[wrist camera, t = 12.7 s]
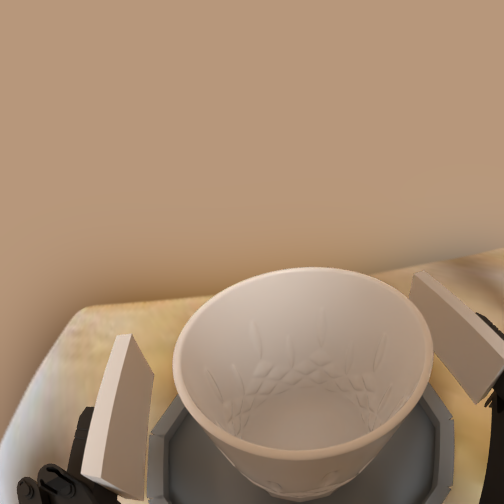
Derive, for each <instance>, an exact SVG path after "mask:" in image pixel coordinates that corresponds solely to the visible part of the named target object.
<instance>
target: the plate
mask: <svg viewBox="0 0 504 504" xmlns="http://www.w3.org/2000/svg"><path fill="white" fill-rule="evenodd" d="M452 417H453V416H452V415H451V413H450V412H449V410H448V409H447V408H446V406H445V405H444V403H443V402H442V400H441V399H440V397H439V396H438V395H437V393H436V392H435V390H434V389H433V388H432V386H431V385H430V383H429V382H428V384H427V386H426V388H425V390H424V392H423V394H422V396H421V398H420V399H419V401H418V403H417V404H416V405H415V407H414V408H413V410H412V411H411V413H410V414H409V415H408V417H407V418H406V420H405V421H404V422H403V424H402V425H401V426H400V428H399V429H398V430H397V431H396V433H395V434H394V435H393V437H392V438H391V439H390V440H389V442H388V443H387V444H386V445H385V446H384V448H383V449H382V450H381V451H380V452H379V454H378V455H377V456H376V457H375V458H374V459H373V460H372V462H371V463H370V464H369V465H368V466H367V467H366V468H365V469H363V470H362V471H361V472H360V473H359V474H358V475H357V476H356V477H355V478H354V479H352V480H351V481H350V482H348V483H346V484H345V485H343V486H342V487H341V488H339V489H338V490H337V491H335V492H334V493H332V494H331V495H329V496H326V497H322V498H318V499H314V500H309V501H304V502H295V501H290V500H285V499H280V498H276V497H272V496H270V495H269V494H268V493H266V492H265V491H264V490H263V489H261V488H260V487H258V486H256V485H255V484H253V483H252V482H251V481H249V480H248V479H247V478H246V477H245V476H244V475H243V474H242V473H241V472H240V471H239V470H238V469H236V468H235V467H234V466H233V465H232V464H231V463H230V462H229V461H228V460H227V458H226V457H225V456H224V455H223V454H222V453H221V451H220V450H219V449H218V448H217V447H216V446H215V444H214V443H213V442H212V441H211V439H210V438H209V437H208V436H207V434H206V433H205V432H204V431H203V430H202V428H201V427H200V426H199V424H198V423H197V422H196V421H195V419H194V418H193V417H192V415H191V414H190V413H189V411H188V410H187V409H186V407H185V406H184V404H183V402H182V400H181V398H180V396H179V394H178V395H177V396H176V397H175V399H174V400H173V402H172V403H171V404H170V406H169V407H168V409H167V410H166V411H165V413H164V414H163V416H162V417H161V418H160V420H159V421H158V423H157V424H156V425H155V427H154V428H153V430H152V431H151V433H152V434H153V435H150V437H149V452H148V472H147V498H149V499H150V500H148V502H149V503H150V504H442V503H443V501H444V500H445V498H446V497H447V495H448V493H449V492H450V490H451V488H449V487H451V486H452V485H453V473H454V419H453V420H451V418H452Z"/></svg>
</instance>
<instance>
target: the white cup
mask: <svg viewBox="0 0 504 504" xmlns="http://www.w3.org/2000/svg"><path fill="white" fill-rule="evenodd" d="M433 356H434V350H433V341H432V336H431V333H430V330H429V327H428V325H427V322H426V320H425V319H424V317H423V315H422V314H421V312H420V311H419V309H418V308H417V307H416V306H415V305H414V303H413V302H412V301H411V300H410V299H408V298H407V297H406V296H405V295H404V294H403V293H401V292H400V291H399V290H397V289H396V288H394V287H392V286H391V285H389V284H387V283H385V282H383V281H381V280H379V279H376V278H374V277H371V276H368V275H365V274H362V273H359V272H354V271H350V270H345V269H338V268H328V267H327V268H326V267H300V268H290V269H283V270H278V271H273V272H269V273H264V274H261V275H258V276H255V277H251V278H249V279H246V280H243V281H241V282H239V283H236V284H234V285H233V286H230V287H228V288H226V289H225V290H223V291H221V292H220V293H218V294H216V295H215V296H213V297H212V298H211V299H209V300H208V301H207V302H205V303H204V304H203V305H202V306H201V307H200V308H199V309H198V310H197V311H196V312H195V313H194V314H193V315H192V316H191V318H190V319H189V320H188V321H187V323H186V324H185V326H184V327H183V329H182V331H181V333H180V335H179V337H178V340H177V342H176V345H175V349H174V354H173V365H172V366H173V377H174V382H175V386H176V389H177V392H178V394H179V396H180V398H181V400H182V402H183V404H184V406H185V407H186V409H187V410H188V411H189V413H190V414H191V415H192V417H193V418H194V419H195V421H196V422H197V423H198V424H199V426H200V427H201V428H202V430H203V431H204V432H205V433H206V434H207V436H208V437H209V438H210V439H211V441H212V442H213V443H214V444H215V446H216V447H217V448H218V449H219V450H220V451H221V453H222V454H223V455H224V456H225V457H226V458H227V460H228V461H229V462H230V463H231V464H232V465H233V466H234V467H235V468H236V469H238V470H239V471H240V472H241V473H242V474H243V475H244V476H245V477H246V478H247V479H248V480H249V481H251V482H252V483H253V484H255V485H256V486H258V487H260V488H261V489H263V490H264V491H265V492H266V493H268V494H269V495H270V496H272V497H276V498H280V499H285V500H290V501H295V502H304V501H309V500H314V499H318V498H322V497H326V496H329V495H331V494H332V493H334V492H335V491H337V490H338V489H339V488H341V487H342V486H343V485H345V484H346V483H348V482H350V481H351V480H352V479H354V478H355V477H356V476H357V475H358V474H359V473H360V472H361V471H362V470H363V469H365V468H366V467H367V466H368V465H369V464H370V463H371V462H372V460H373V459H374V458H375V457H376V456H377V455H378V454H379V452H380V451H381V450H382V449H383V448H384V446H385V445H386V444H387V443H388V442H389V440H390V439H391V438H392V437H393V435H394V434H395V433H396V431H397V430H398V429H399V428H400V426H401V425H402V424H403V422H404V421H405V420H406V418H407V417H408V415H409V414H410V413H411V411H412V410H413V408H414V407H415V405H416V404H417V403H418V401H419V399H420V398H421V396H422V394H423V392H424V390H425V388H426V386H427V384H428V381H429V378H430V375H431V371H432V366H433Z"/></svg>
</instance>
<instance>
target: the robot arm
mask: <svg viewBox="0 0 504 504" xmlns="http://www.w3.org/2000/svg"><path fill="white" fill-rule="evenodd" d="M409 299H410V300H411V301H412V302H413V303H414V305H415V306H416V307H417V308H418V309H419V311H420V312H421V314H422V315H423V317H424V319H425V320H426V322H427V325H428V327H429V330H430V333H431V336H432V341H433V350H434V352H435V354H436V355H437V356H438V357H439V358H440V360H441V361H442V362H443V363H444V365H445V366H446V367H447V368H448V370H449V371H450V372H451V373H452V375H453V376H454V377H455V378H456V380H457V381H458V382H459V384H460V385H461V386H462V387H463V389H464V390H465V391H466V393H467V394H468V395H469V397H470V398H471V399H472V401H473V402H474V404H475V405H476V404H477V403H478V402H480V401H481V400H482V399H483V398H485V397H486V396H487V394H488V393H489V392H490V390H491V389H492V388H493V389H494V392H493V393H492V394H491V396H490V397H489V398H488V400H487V401H486V403H485V406H484V407H487V406H488V404H489V403H490V402H491V401H492V402H491V404H490V405H489V407H492V423H491V438H490V448H489V456H488V463H487V469H486V475H485V480H484V485H483V489H482V494H481V498H480V502H479V504H504V334H503V333H502V332H501V331H500V330H498V328H497V327H496V326H495V325H493V323H492V322H490V321H489V320H488V319H487V318H486V317H485V316H483V315H481V314H479V313H477V312H476V313H474V312H473V311H472V310H471V309H470V308H469V307H468V306H467V305H465V304H464V303H463V302H462V301H461V300H460V299H459V298H457V297H456V296H455V295H454V294H453V293H452V292H450V291H449V290H448V289H447V288H446V287H444V286H443V285H442V284H441V283H440V282H438V281H437V280H436V279H435V278H433V277H432V276H431V275H430V274H429V273H427V272H426V271H425V270H423V271H420V272H417V273H414V274H413V279H412V284H411V289H410V294H409ZM153 379H154V373H153V372H152V370H151V368H150V367H149V365H148V363H147V361H146V359H145V358H144V356H143V354H142V352H141V350H140V348H139V347H138V345H137V343H136V341H135V339H134V337H133V335H132V334H124V335H117V336H116V339H115V342H114V345H113V348H112V351H111V354H110V357H109V360H108V363H107V366H106V369H105V372H104V376H103V379H102V382H101V386H100V389H99V393H98V396H97V400H96V404H95V407H86V408H85V410H84V411H83V412H82V414H81V415H80V417H79V421H78V425H77V430H76V432H75V436H74V437H75V439H74V441H73V445H72V449H71V454H70V459H69V464H68V469H67V472H66V471H65V470H63V469H62V468H60V467H59V466H57V465H56V464H47V465H44V466H43V467H42V468H41V469H40V471H39V473H38V478H37V481H38V482H36V481H35V480H33V479H31V478H30V477H24V478H22V479H21V480H20V481H19V482H18V486H17V494H18V500H19V504H121V503H120V502H119V501H118V500H117V495H119V496H121V497H123V498H125V499H133V500H141V501H144V473H145V456H146V442H147V431H148V420H149V411H150V402H151V394H152V387H153Z"/></svg>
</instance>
